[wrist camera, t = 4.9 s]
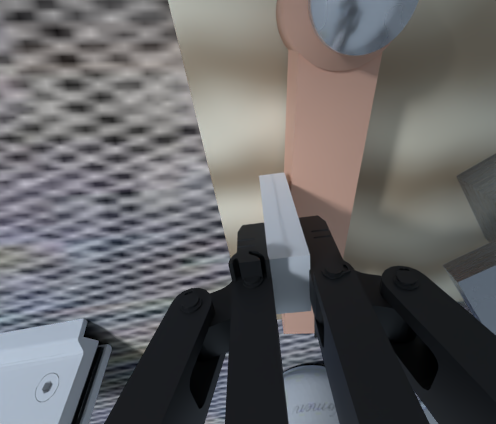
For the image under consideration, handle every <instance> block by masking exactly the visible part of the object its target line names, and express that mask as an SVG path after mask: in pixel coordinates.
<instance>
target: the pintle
mask: <svg viewBox="0 0 496 424" xmlns="http://www.w3.org/2000/svg"><path fill="white" fill-rule="evenodd" d="M418 1H419V0H308V10H309V17H310V22H311V25H312V28H313V30H314V32H315V34H316V36H317V37H318V39H319V40H320V41H321V42H322V43H323V44H324V45H325V46H326V47H327V48H329V49H330V50H332V51H334V52H337V53H340V54H345V55H353V56H358V55H365V54H369V53H372V52H375V51H377V50H379V49H381V48H383V47H384V46H386V45H387V44H388V43H390V42H391V41H392V40H393V39H394V38H396V36H397V35H398V34H399V33H400V32H401V31H402V30H403V29H404V27H405V26H406V25H407V23H408V21H409V20H410V18H411V17H412V15H413V13H414V11H415V9H416V6H417V4H418Z"/></svg>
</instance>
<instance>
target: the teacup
mask: <svg viewBox="0 0 496 424" xmlns="http://www.w3.org/2000/svg"><path fill="white" fill-rule="evenodd" d="M283 377H284V386H285V395H286V403H287V412H288V421H289V424H339V420H338V416H337V412H336V408H335V404H334V400H333V396H332V392H331V388H330V384H329V380H328V376H327V372H326V368H325V367H324V366H318V365H306V366H298V367H295V368H292V369H290V370H287V371H286V372H284V373H283Z"/></svg>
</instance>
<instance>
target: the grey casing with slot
mask: <svg viewBox="0 0 496 424" xmlns="http://www.w3.org/2000/svg"><path fill="white" fill-rule="evenodd" d="M87 322H88V321H87V320H85V319H84V318H83V319H78V320H72V321H66V322H61V323H55V324H49V325H44V326H38V327H33V328H27V329H21V330H16V331H10V332H4V333H0V424H89V422H90V418H91V415H92V412H93V409H94V405H95V402H96V399H97V396H98V393H99V389H100V386H101V383H102V380H103V376H104V373H105V370H106V367H107V363H108V360H109V357H110V354H111V351H112V348H111V346H110V345H109V344H105V345H98V343H99V341H98V340H94V339H90V338H86V337H84V333H85V329H86V325H87Z"/></svg>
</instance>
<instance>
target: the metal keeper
mask: <svg viewBox="0 0 496 424" xmlns="http://www.w3.org/2000/svg"><path fill="white" fill-rule="evenodd" d="M456 177H457V179H458V181H459V183H460V185H461V187H462V190H463V192H464V194H465V196H466V198H467V200H468V202H469V205H470V207H471V209H472V211H473V213H474V215H475V217H476V220H477V222H478V224H479V226H480V228H481V230H482V232H483V234H484V237H485V239H486V240H488V241H489V242H490V243H488V244H486V245H483V246H481V247H479V248H477V249H475V250H473V251H471V252H469V253H467V254H465V255H462V256H460V257H458V258H456V259H454V260H452V261H450V262H448V263H446V264H443V267H444V268H445V270H446V272H447V273H448V275H449V277H450V278H451V280H452V281H453V283H454V285H455V286H456V288H457V290H458V291H459V293H460V295H461V296H462V298H463V299H464V301H465V303H466V304H467V306H468V308H469V309H470V311H471V313H472V314H473V316H474V317H475V318H476V319H477V320H478V321H480V322H481V323H482V324H483V325H484V326H486V327H487V328H488V329H489V330H490V331H491V332H493V333H494V334H495V335H496V154H494V155H492V156H490V157H489V158H487V159H485V160H483V161H482V162H480V163H478V164H476V165H475V166H473V167H471V168H469V169H468V170H466V171H464V172H462V173H461V174H459V175H457V176H456Z"/></svg>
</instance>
